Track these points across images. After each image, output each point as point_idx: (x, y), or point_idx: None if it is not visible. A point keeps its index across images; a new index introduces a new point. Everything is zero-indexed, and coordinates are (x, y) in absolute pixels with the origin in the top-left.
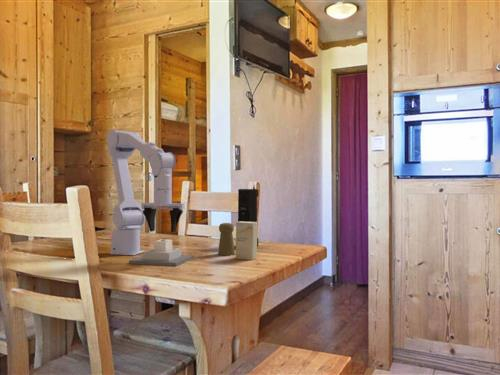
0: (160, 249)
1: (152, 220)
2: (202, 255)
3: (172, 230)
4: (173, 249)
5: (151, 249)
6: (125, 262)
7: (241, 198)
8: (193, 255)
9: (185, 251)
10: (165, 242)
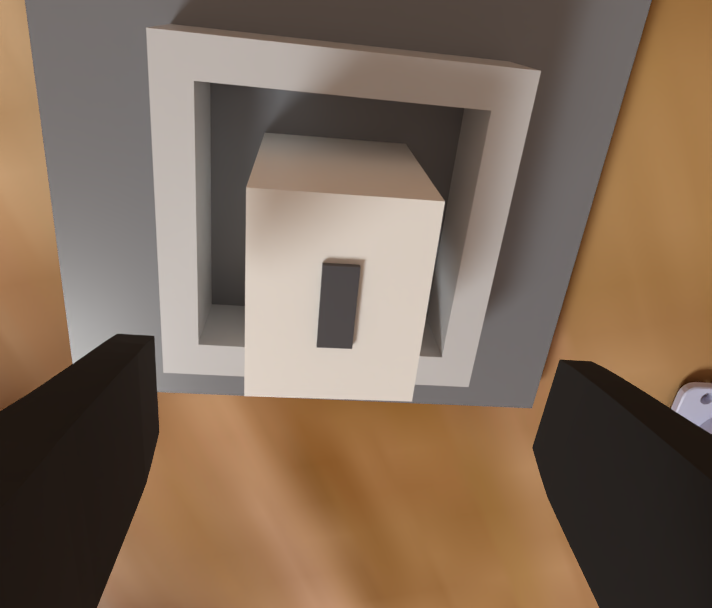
0: (330, 162)
1: (653, 565)
2: None
3: (112, 341)
4: None
5: (481, 247)
6: (693, 47)
7: None
8: None
9: (306, 604)
10: (248, 186)
